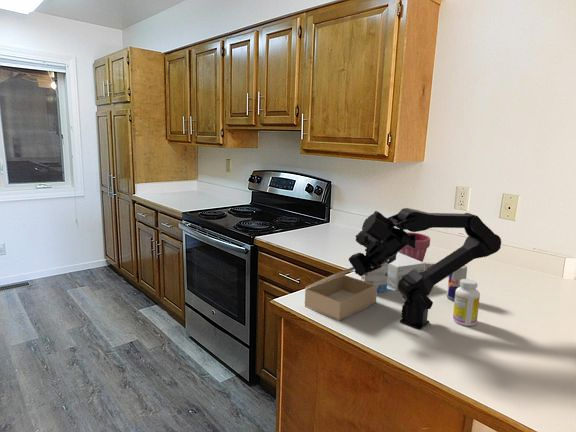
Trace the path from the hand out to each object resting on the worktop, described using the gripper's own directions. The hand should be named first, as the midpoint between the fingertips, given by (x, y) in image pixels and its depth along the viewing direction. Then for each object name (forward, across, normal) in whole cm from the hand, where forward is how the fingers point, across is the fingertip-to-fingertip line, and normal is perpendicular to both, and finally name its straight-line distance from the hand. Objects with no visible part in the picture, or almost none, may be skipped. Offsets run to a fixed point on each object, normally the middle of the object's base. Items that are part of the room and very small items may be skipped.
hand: (356, 272), depth 121 cm
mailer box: (+13, 0, +5) cm, 14 cm away
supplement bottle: (-10, -18, +29) cm, 36 cm away
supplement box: (+12, -34, +7) cm, 36 cm away
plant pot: (+16, -57, +3) cm, 59 cm away
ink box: (+13, -20, +6) cm, 24 cm away
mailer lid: (+7, -1, -3) cm, 7 cm away
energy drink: (-4, -33, +23) cm, 40 cm away
